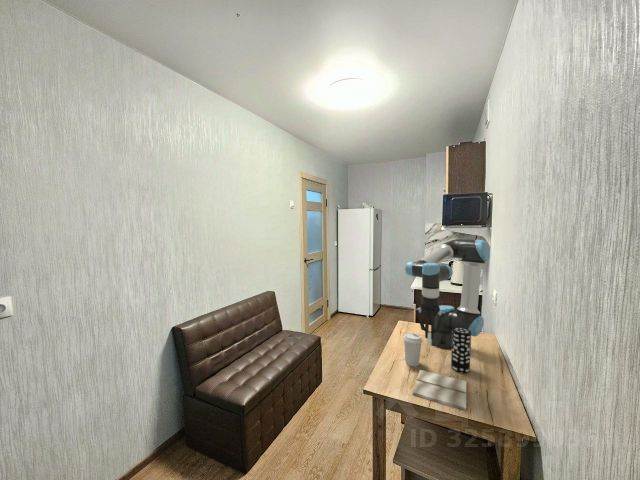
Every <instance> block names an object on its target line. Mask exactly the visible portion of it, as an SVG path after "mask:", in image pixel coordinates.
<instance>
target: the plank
mask: <svg viewBox="0 0 640 480" xmlns="http://www.w3.org/2000/svg"><path fill="white" fill-rule="evenodd" d="M416 381H420V382H424V383H428V384H432V385H435V386H439V387H443V388H446V389H450V390H454V391H458V392H461V393H465V394H466V395H467V381H466V380H462V379H459V378H455V377H450V376H446V375H443V374H439V373H435V372H430V371H426V370H424V369H423V370H422V369H419V371H418V374H417V378H416Z"/></svg>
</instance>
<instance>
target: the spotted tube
mask: <svg viewBox="0 0 640 480" xmlns="http://www.w3.org/2000/svg"><path fill="white" fill-rule="evenodd" d="M471 347H472V336H471V331H470V330H468V329H465V328H459V327H456V328H453V329H452V349H451V359H450V361H451V362H450V363H451V364H450V369H452V371H455V372H457V373H460V374H468V373H470V371H471V349H472V348H471Z"/></svg>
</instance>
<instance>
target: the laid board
mask: <svg viewBox="0 0 640 480" xmlns="http://www.w3.org/2000/svg"><path fill="white" fill-rule="evenodd" d="M412 396H415V397H419V398H422V399H425V400H429V401H432V402H436V403H438V404H443V405H445V406H450V407H453V408H456V409H459V410H463V411H465V412H467V393H466V394H465V393H461V392H458V391H454V390H450V389H446V388H443V387H439V386H435V385H432V384H428V383H424V382H420V381H417V380H415V384H414V387H413V391H412Z"/></svg>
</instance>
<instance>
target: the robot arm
mask: <svg viewBox="0 0 640 480" xmlns="http://www.w3.org/2000/svg"><path fill="white" fill-rule="evenodd" d="M490 257H491V249H490V246H489V244H488V242H487V241H486V240H483V239H465V238H464V239H462V238H456V239H452V240H449V241H446V242H443V243H441V244H440V245H438V247H437V249H435V250H433V251H432V252H430V253H428V254H427V255H425V256H423V257H422V258H420V259H419V260H417V261H408V262H406V264H405V265H404V267H405V268H404V269H405V270H404V271H405V274H406V275H407V276H410V277H416V278H422V279H421V295H422V296H421V304H420V306H419V307H417V308H416V309H415V312H416V314H417V316H418V320H419V325H420V329H421V331H424V334H425V335H424V338H425V339H427V347H428V348H429V347H432V346H433V347H436V348H437V349H438V348H439V349H443V350H452V329H453V328H456V327H459V328H465V329H468V330H470V331H471V337H478V336H479V335H480V334H481V332H482V330H483V327H484V324H485V323H484V322H485V321H484V317H482V315H481V312H480V311H479V309H478V307H479V298H480V297H479V295H480V284H481V274H482V267H483V266H484V265H485V264H486V262H488V261H489V260H490ZM450 259H461V263H462V264H463V266H464V267H463V274H462V275H463V277H462V286H461V296H460V297H461V298H460V305H459V306H458V307H457V308H456V310H455V307H454V306H453V305H443V304H441V305H440V282H444V281H448V280H449V279H451V277H453V274H454V273H453V269H452V267H451V266H450V265H448V264H441V263H443V262H444V261H446V260H447V261H448V260H450ZM422 313H423V314H424V316H425V317H424V318H425V319H423V316H422ZM429 320H431V321H430V322H429ZM424 321H425V322H424ZM429 323H430V325H429ZM429 326H430V327H429ZM429 328H430V330H429Z"/></svg>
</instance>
